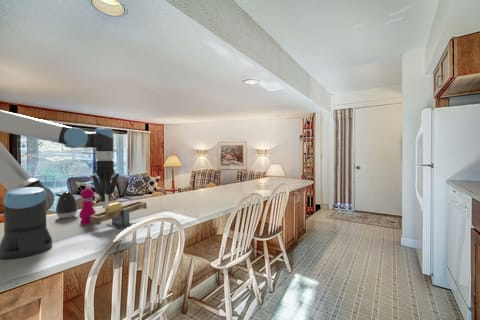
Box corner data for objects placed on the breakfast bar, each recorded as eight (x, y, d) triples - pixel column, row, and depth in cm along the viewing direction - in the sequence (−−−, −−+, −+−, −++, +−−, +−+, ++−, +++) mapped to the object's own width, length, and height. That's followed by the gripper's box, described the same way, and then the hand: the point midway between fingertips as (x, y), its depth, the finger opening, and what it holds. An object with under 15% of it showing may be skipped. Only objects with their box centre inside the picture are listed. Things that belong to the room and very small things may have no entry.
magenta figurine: (82, 225, 115) (82, 187, 115) (77, 223, 120) (77, 186, 120) (97, 222, 121) (97, 185, 121) (92, 220, 126) (92, 184, 125)
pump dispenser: (58, 216, 133) (58, 191, 133) (79, 214, 138) (79, 190, 137) (52, 220, 124) (52, 193, 124) (75, 218, 128) (75, 192, 128)
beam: (98, 224, 104) (97, 217, 104) (90, 222, 108) (89, 215, 107) (146, 208, 126) (146, 202, 126) (138, 206, 130) (138, 200, 129)
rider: (110, 214, 110) (109, 206, 110) (105, 213, 112) (104, 205, 112) (121, 211, 115) (120, 202, 115) (117, 210, 117) (116, 201, 117)
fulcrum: (119, 229, 110) (119, 211, 110) (106, 225, 116) (106, 208, 116) (134, 224, 117) (134, 207, 117) (121, 221, 123) (121, 205, 123)
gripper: (94, 160, 102) (95, 211, 102) (122, 160, 113) (122, 206, 114) (86, 160, 106) (87, 209, 106) (113, 159, 117) (114, 204, 117)
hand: (105, 207), depth 110 cm, fingers closed
